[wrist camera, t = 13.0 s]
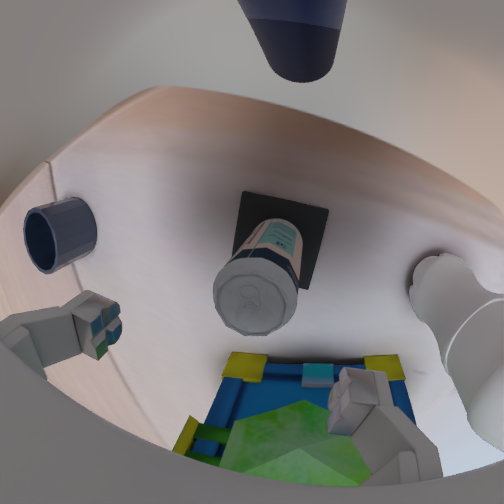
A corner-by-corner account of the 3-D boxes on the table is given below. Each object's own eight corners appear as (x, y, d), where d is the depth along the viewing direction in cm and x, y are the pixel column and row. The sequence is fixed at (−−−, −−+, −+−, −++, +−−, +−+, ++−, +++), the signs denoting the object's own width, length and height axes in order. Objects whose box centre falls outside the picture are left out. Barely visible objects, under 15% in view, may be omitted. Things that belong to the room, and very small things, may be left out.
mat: (243, 190, 25) (242, 191, 24) (328, 209, 24) (329, 210, 23) (230, 268, 28) (229, 271, 27) (308, 287, 27) (308, 290, 26)
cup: (59, 194, 30) (21, 204, 23) (97, 201, 29) (55, 213, 22) (61, 248, 32) (27, 264, 26) (97, 261, 31) (61, 282, 25)
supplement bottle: (255, 268, 26) (216, 342, 15) (247, 220, 25) (198, 267, 14) (305, 264, 25) (299, 342, 14) (300, 214, 24) (291, 260, 13)
